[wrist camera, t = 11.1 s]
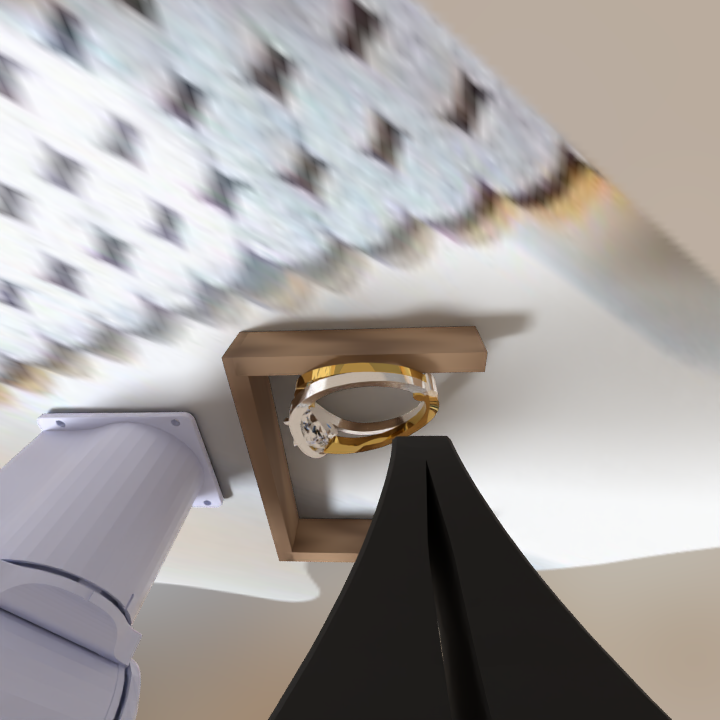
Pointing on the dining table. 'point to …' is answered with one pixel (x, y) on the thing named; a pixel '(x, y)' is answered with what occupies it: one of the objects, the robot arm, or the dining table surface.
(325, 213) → the dining table surface
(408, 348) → the brown u-shaped frame
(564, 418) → the dining table surface
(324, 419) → the ring
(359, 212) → the dining table surface
